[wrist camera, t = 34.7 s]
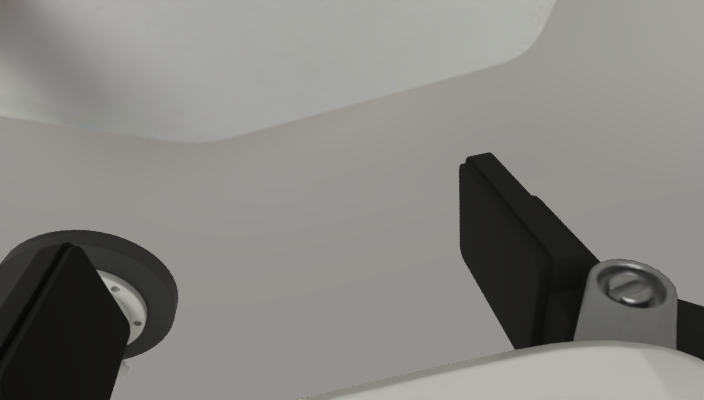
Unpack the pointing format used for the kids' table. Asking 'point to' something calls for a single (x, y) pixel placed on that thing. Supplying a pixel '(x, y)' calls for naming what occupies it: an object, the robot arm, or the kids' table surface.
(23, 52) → the kids' table surface
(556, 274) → the robot arm
